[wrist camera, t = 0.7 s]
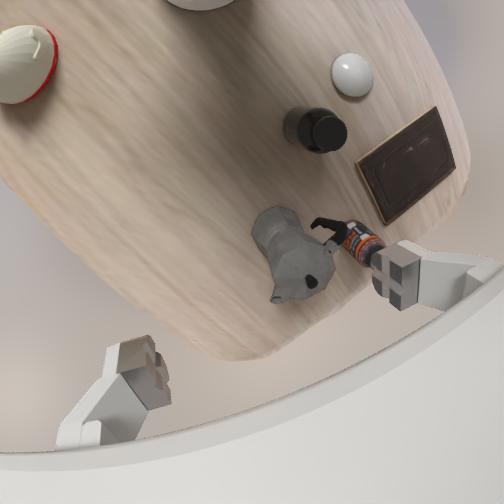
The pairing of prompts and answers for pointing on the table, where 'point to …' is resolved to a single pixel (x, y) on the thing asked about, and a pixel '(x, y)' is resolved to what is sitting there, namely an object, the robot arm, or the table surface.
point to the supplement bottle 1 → (314, 129)
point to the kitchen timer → (25, 62)
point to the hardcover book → (407, 165)
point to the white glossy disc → (352, 74)
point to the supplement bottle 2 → (362, 243)
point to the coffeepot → (296, 253)
